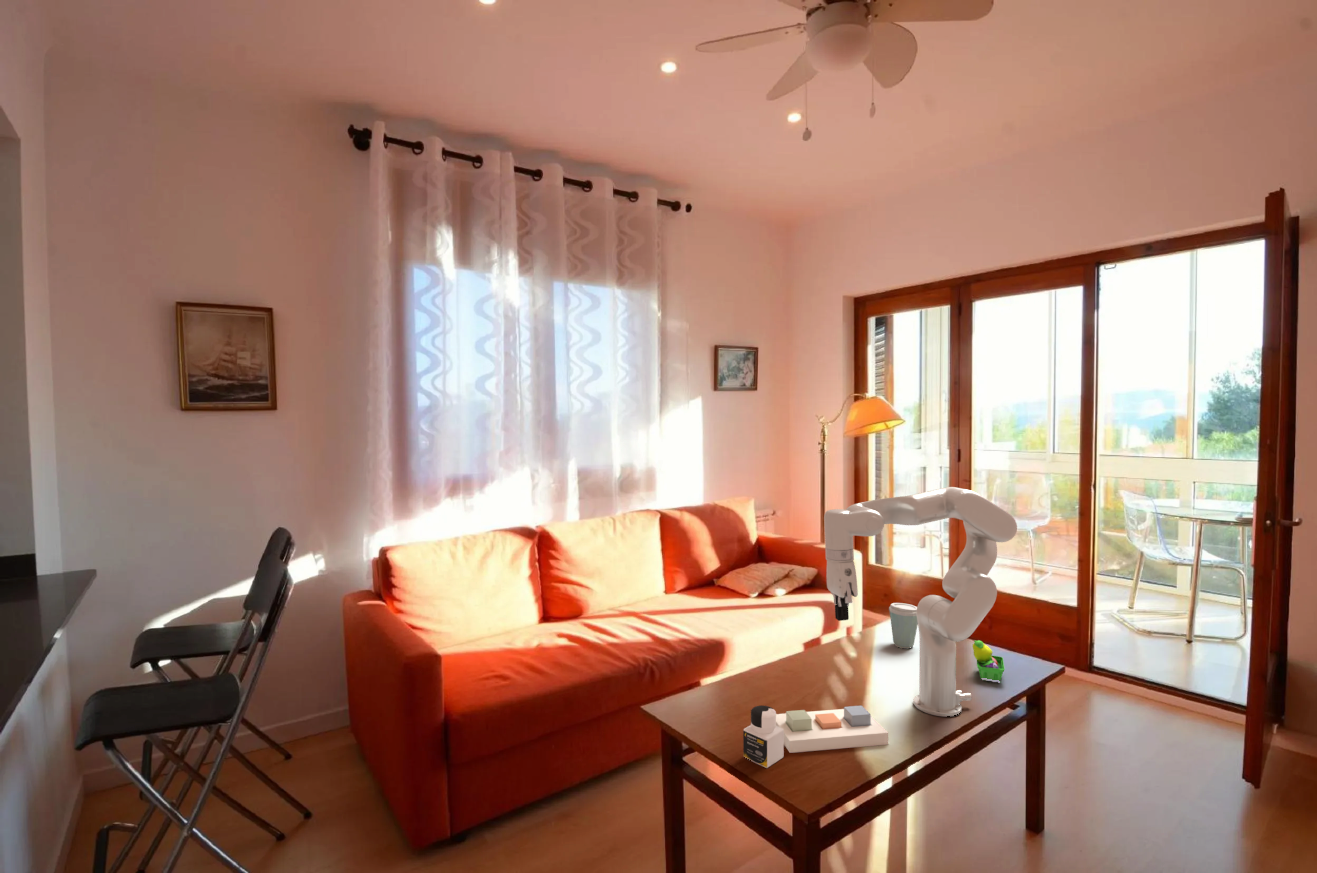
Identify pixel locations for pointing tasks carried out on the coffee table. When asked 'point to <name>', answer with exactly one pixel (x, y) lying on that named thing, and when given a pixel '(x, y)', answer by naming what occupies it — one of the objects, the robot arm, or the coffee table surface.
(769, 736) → the medicine bottle
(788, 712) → the key sage
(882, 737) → the key board
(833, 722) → the key terracotta
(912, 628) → the disposable coffee cup
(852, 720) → the key slate
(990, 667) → the fruit basket
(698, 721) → the coffee table surface
